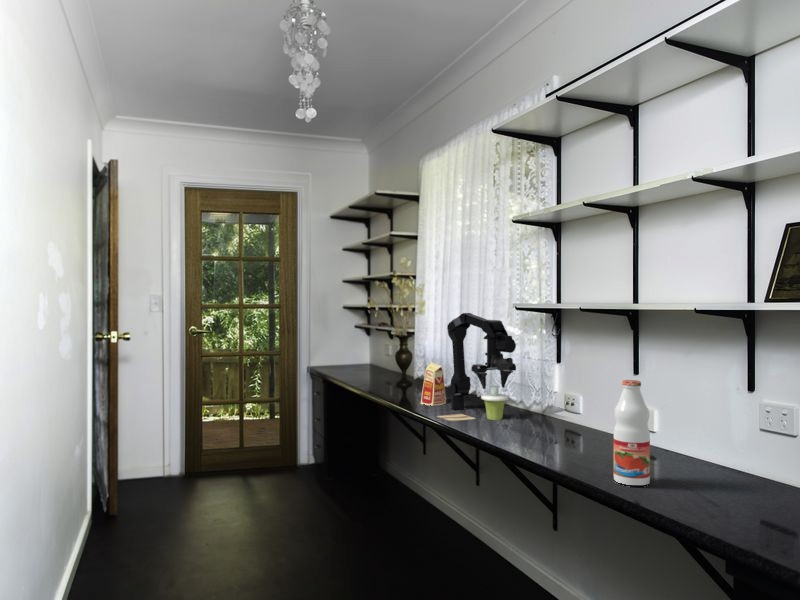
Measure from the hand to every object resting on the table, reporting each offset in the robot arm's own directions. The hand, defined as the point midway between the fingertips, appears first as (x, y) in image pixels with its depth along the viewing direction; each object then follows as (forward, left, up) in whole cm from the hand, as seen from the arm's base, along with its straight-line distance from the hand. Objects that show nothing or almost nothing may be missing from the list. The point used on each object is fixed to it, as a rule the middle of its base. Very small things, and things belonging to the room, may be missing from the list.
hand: (493, 388), depth 263 cm
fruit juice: (+90, -17, -13) cm, 93 cm away
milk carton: (-43, -5, -13) cm, 45 cm away
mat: (-8, -14, -13) cm, 20 cm away
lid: (+1, -1, -4) cm, 4 cm away
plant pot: (+1, -1, -13) cm, 13 cm away
